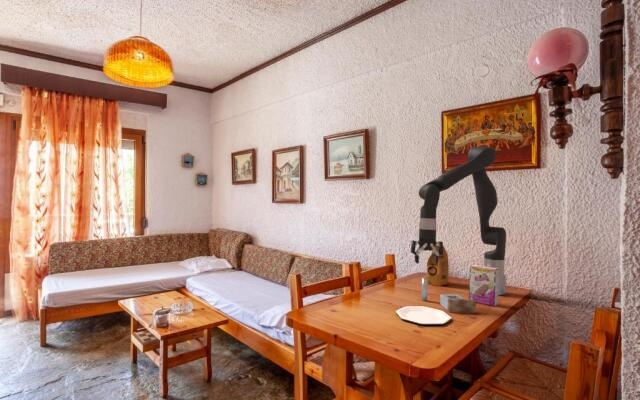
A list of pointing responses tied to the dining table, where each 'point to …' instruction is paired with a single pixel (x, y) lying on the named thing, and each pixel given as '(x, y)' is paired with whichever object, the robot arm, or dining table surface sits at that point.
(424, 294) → the dowel
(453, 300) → the wall
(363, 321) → the dining table surface
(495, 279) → the candy bar box
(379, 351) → the dining table surface
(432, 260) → the coffee package
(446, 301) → the block
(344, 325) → the dining table surface
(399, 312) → the plate
